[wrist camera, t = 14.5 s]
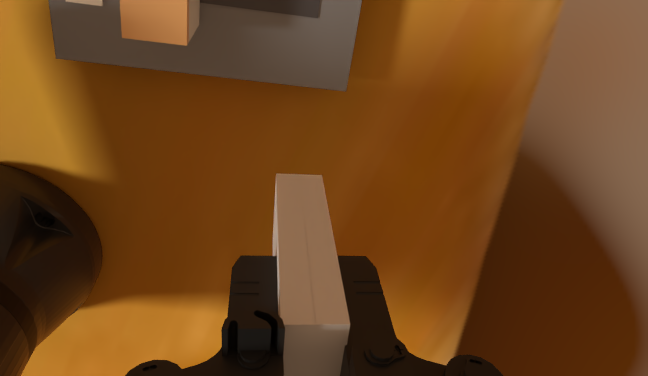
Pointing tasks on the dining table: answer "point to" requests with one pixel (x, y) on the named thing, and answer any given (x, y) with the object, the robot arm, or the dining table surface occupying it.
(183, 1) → the slider
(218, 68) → the switch unit
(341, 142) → the dining table surface
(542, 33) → the dining table surface
